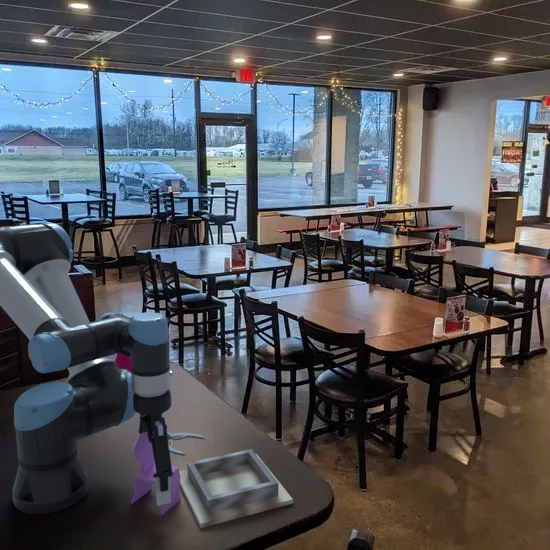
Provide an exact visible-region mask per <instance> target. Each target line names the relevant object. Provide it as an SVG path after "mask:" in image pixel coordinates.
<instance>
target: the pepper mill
mask: <svg viewBox="0 0 550 550" xmlns="http://www.w3.org/2000/svg"><path fill="white" fill-rule="evenodd" d="M114 361H115V362H116V365H117V367H118V369H119V370H120V369H125V370H128V371H129V372H130V373H131V371H132V368H131V357H128V356H126V355H123V354H121V353H117V354H116V356H115V359H114Z"/></svg>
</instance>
